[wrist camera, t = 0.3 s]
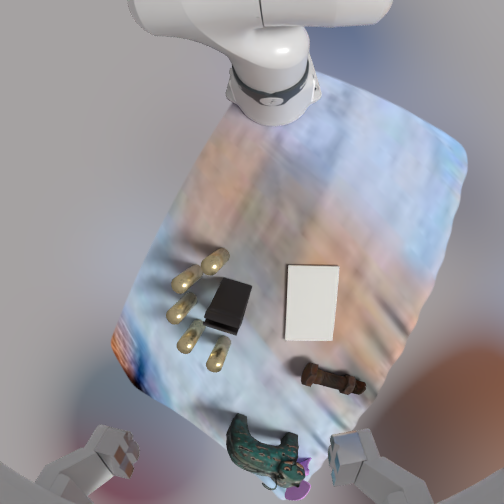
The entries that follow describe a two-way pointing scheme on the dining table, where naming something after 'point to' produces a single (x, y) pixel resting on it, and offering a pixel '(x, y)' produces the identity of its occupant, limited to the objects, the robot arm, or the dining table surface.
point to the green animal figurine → (265, 455)
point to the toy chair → (303, 489)
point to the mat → (311, 302)
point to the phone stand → (228, 306)
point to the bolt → (331, 380)
